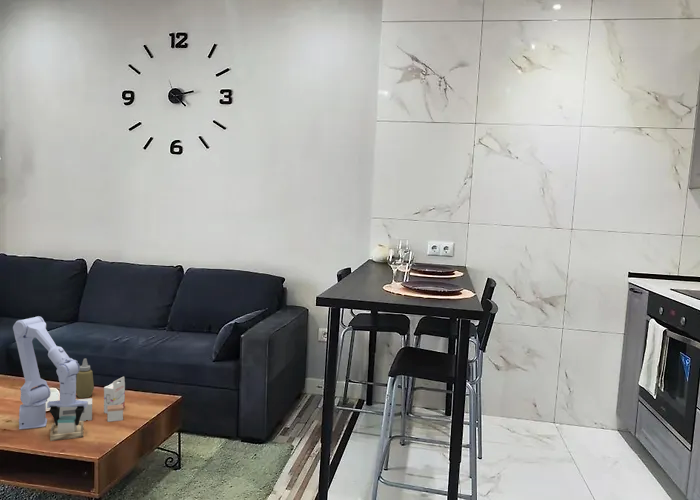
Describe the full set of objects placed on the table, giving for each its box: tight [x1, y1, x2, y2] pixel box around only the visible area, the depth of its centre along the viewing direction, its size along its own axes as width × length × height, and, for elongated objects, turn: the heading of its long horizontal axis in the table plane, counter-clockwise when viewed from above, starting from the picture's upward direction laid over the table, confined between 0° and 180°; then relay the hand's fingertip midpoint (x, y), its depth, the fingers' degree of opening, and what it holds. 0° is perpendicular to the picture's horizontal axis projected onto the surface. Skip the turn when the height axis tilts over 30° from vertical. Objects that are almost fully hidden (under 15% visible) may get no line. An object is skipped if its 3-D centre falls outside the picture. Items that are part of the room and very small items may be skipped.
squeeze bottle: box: [76, 358, 95, 399], centre depth 262 cm, size 8×8×18 cm
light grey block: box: [106, 404, 124, 423], centre depth 239 cm, size 6×4×6 cm
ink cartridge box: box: [103, 376, 126, 414], centre depth 248 cm, size 9×5×15 cm, turn 168°
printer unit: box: [59, 397, 93, 422], centre depth 237 cm, size 14×8×7 cm, turn 115°
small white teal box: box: [58, 416, 77, 434], centre depth 224 cm, size 6×4×6 cm
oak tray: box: [49, 421, 85, 442], centre depth 224 cm, size 12×12×2 cm
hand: (67, 424), depth 224 cm, fingers open, 7 cm apart
